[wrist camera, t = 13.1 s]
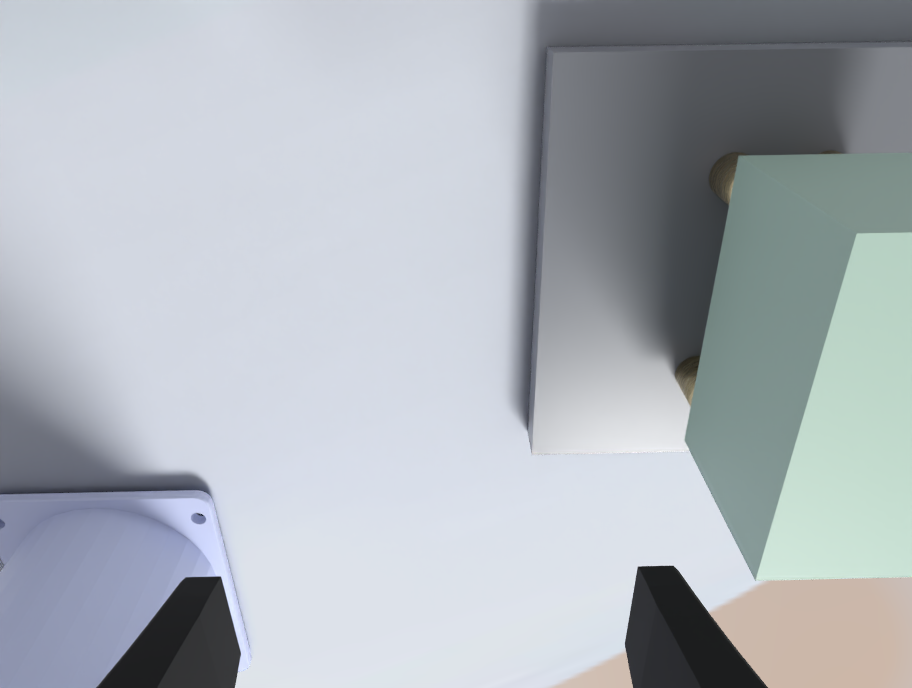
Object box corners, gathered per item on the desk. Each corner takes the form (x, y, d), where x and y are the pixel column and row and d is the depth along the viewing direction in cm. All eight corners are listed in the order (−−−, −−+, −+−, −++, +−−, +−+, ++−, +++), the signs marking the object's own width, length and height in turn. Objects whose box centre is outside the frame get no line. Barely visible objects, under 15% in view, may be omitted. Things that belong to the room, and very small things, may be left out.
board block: (825, 437, 19) (936, 576, 15) (684, 440, 19) (755, 581, 15) (914, 152, 15) (1102, 228, 11) (739, 155, 15) (857, 233, 11)
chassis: (880, 424, 23) (940, 488, 20) (527, 432, 23) (539, 497, 20) (1020, 39, 17) (1132, 55, 14) (546, 46, 17) (567, 63, 14)
